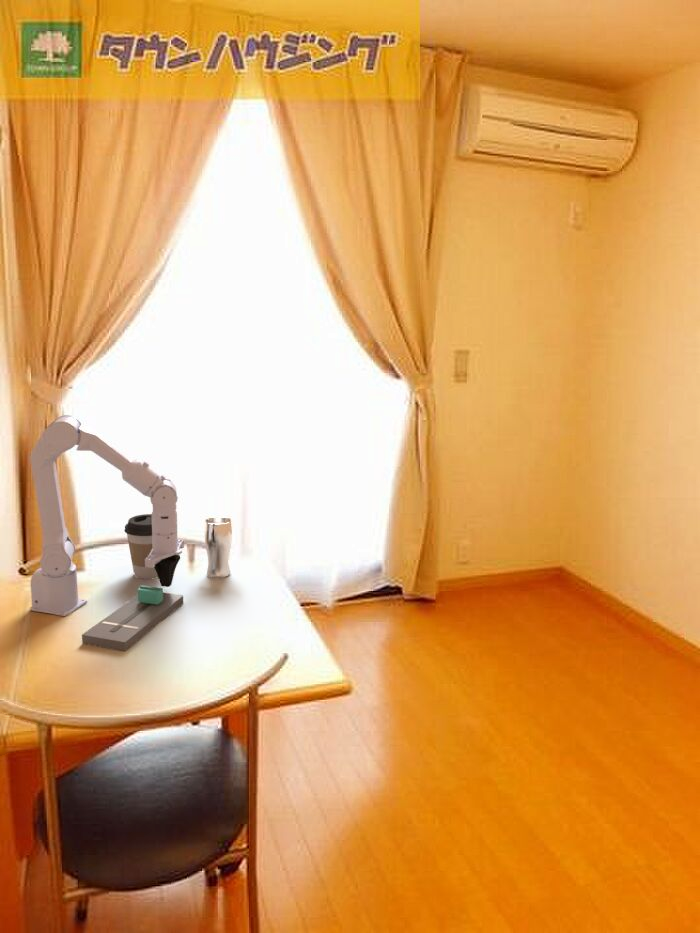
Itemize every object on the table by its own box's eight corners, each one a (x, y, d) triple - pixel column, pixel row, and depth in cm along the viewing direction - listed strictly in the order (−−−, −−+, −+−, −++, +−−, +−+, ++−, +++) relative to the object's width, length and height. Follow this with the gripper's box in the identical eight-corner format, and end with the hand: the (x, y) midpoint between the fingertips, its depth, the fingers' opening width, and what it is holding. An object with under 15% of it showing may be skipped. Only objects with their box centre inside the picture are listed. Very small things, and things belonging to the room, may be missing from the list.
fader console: (82, 643, 135) (81, 634, 135) (145, 597, 158) (145, 589, 157) (125, 651, 133) (124, 641, 132) (183, 603, 155) (183, 595, 155)
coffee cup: (142, 563, 179) (140, 510, 175) (179, 569, 176) (178, 515, 172) (116, 578, 168) (114, 522, 165) (155, 585, 165) (154, 528, 161)
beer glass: (210, 568, 177) (209, 515, 174) (235, 570, 176) (235, 517, 173) (201, 578, 170) (200, 523, 167) (227, 580, 170) (226, 525, 166)
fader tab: (138, 601, 150) (137, 587, 149) (143, 597, 152) (143, 583, 151) (157, 604, 149) (157, 590, 148) (163, 600, 151) (162, 586, 150)
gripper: (164, 543, 146) (165, 599, 149) (194, 524, 160) (195, 576, 163) (135, 539, 148) (137, 595, 151) (168, 521, 161) (170, 572, 164)
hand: (166, 585), depth 157 cm, fingers closed
